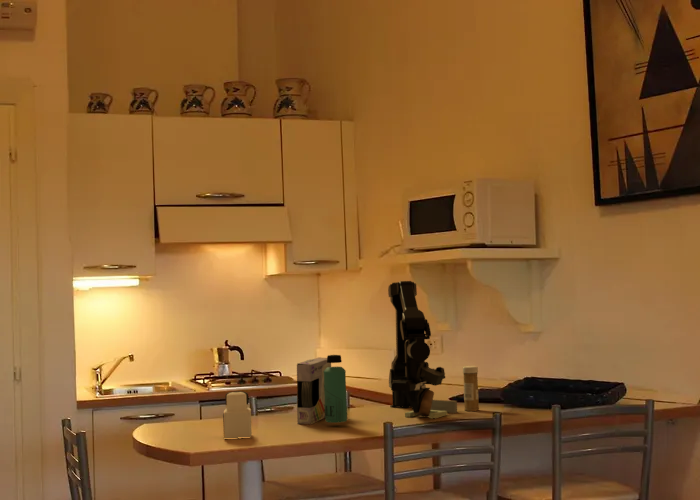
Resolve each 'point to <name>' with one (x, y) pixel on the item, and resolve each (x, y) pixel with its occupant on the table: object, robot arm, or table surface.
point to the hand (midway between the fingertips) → (416, 412)
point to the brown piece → (426, 404)
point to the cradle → (432, 414)
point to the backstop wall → (444, 405)
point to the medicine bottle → (237, 415)
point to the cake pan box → (311, 390)
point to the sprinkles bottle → (471, 388)
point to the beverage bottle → (335, 391)
